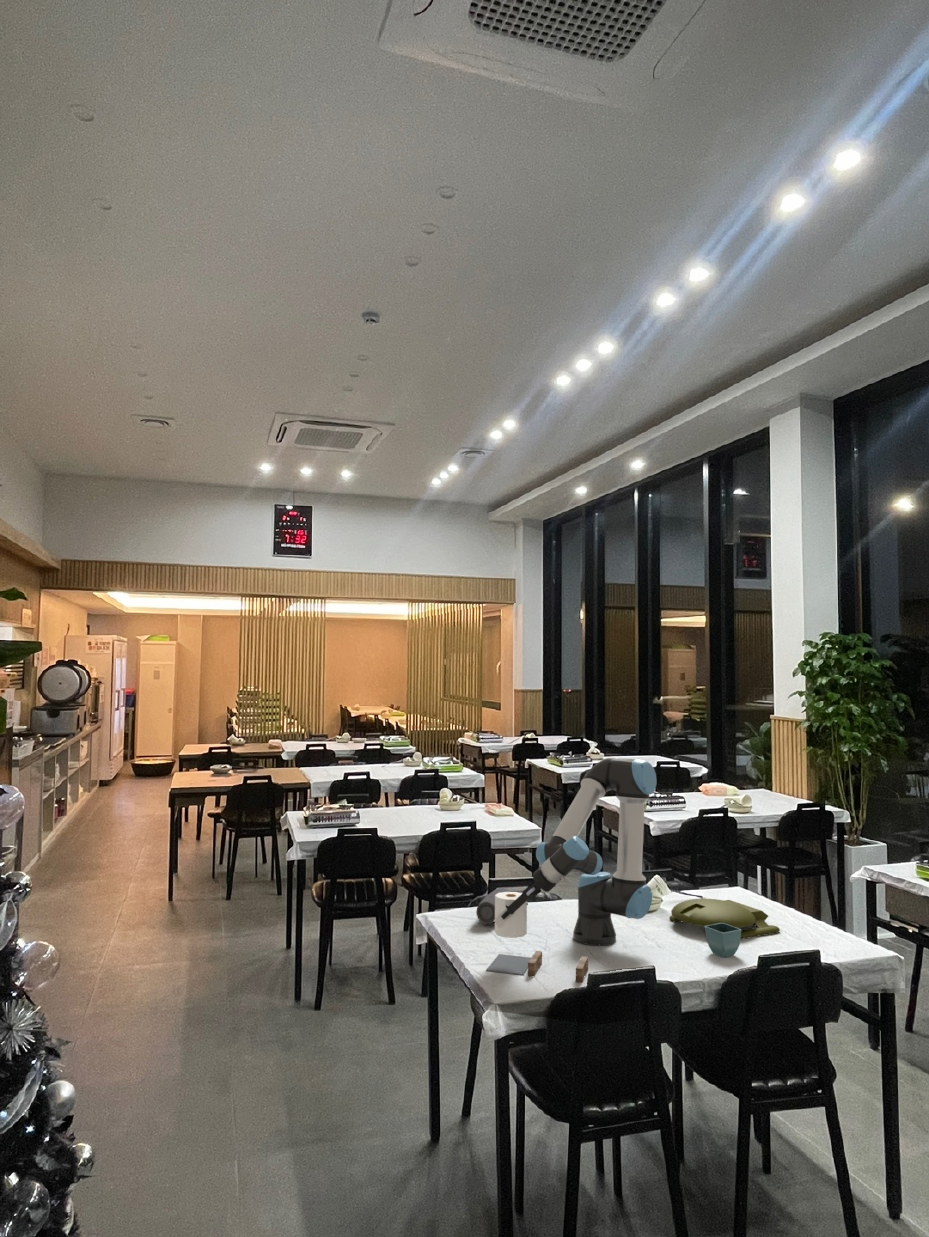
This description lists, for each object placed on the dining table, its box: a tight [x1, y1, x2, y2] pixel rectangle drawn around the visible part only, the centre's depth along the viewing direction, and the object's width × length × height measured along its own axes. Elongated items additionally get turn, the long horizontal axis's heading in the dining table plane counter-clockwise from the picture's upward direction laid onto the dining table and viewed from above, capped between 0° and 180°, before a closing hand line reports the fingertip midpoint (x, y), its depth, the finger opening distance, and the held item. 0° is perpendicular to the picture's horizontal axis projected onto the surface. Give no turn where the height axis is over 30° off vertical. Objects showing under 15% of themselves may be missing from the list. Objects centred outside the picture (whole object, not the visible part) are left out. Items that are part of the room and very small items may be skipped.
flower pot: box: [704, 923, 742, 958], centre depth 277 cm, size 9×9×9 cm
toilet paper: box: [494, 891, 528, 939], centre depth 264 cm, size 10×10×12 cm
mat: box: [485, 953, 532, 976], centre depth 263 cm, size 16×12×1 cm
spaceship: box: [669, 898, 781, 940], centre depth 308 cm, size 35×31×10 cm
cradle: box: [527, 950, 589, 983], centre depth 257 cm, size 12×17×4 cm
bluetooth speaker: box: [475, 887, 510, 925], centre depth 315 cm, size 23×9×10 cm, turn 162°
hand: (502, 919), depth 265 cm, fingers closed on toilet paper, 10 cm apart
